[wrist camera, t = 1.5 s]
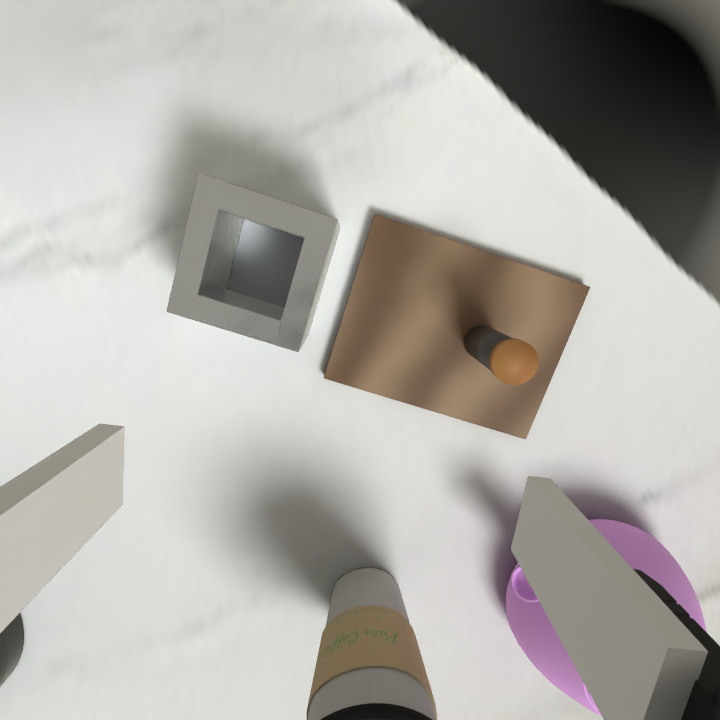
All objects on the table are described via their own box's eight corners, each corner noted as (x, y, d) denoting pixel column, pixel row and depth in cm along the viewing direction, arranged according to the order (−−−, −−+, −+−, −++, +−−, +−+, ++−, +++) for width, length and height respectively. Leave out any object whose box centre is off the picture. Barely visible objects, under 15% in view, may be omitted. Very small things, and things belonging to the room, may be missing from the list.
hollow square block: (200, 302, 32) (166, 311, 26) (228, 190, 30) (198, 172, 24) (307, 335, 32) (298, 352, 27) (340, 227, 31) (337, 219, 25)
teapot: (538, 449, 35) (617, 529, 24) (713, 578, 38) (851, 699, 27) (429, 574, 37) (459, 695, 27) (602, 686, 40) (691, 836, 29)
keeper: (324, 375, 33) (316, 409, 25) (374, 215, 31) (381, 199, 23) (521, 435, 34) (570, 484, 27) (584, 286, 32) (657, 293, 24)
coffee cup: (375, 527, 36) (391, 710, 21) (444, 603, 38) (504, 821, 23) (287, 592, 37) (245, 808, 22) (358, 663, 39) (363, 907, 24)
